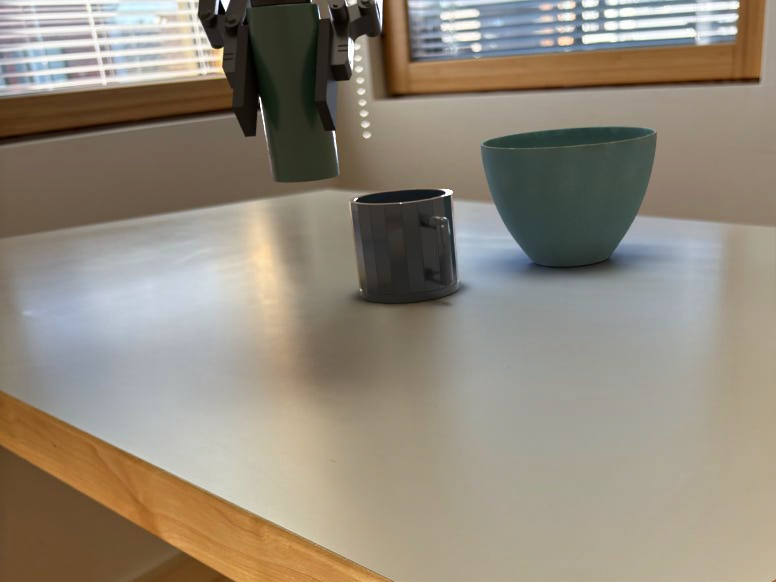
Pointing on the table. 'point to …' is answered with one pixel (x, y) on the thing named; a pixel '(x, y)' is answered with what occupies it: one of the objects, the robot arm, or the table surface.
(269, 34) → the flask
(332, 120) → the robot arm
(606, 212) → the green bowl
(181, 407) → the table surface
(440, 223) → the mug
